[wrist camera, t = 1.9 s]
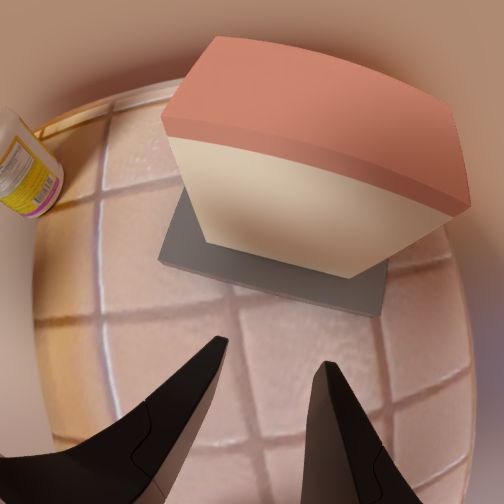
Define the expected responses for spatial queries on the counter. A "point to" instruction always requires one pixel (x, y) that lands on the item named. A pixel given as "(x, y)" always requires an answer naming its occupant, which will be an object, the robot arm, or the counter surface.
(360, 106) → the key
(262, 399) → the counter surface
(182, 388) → the robot arm
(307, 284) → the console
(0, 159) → the supplement bottle
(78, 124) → the counter surface
